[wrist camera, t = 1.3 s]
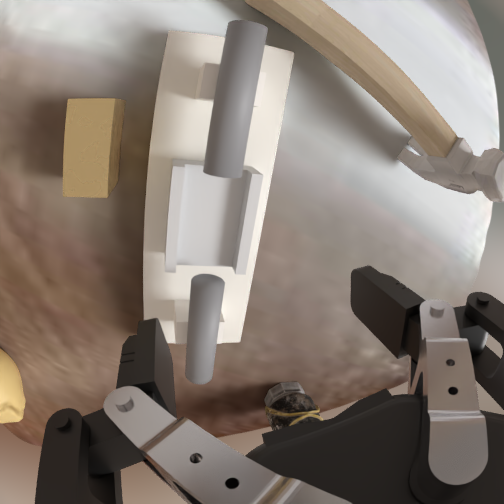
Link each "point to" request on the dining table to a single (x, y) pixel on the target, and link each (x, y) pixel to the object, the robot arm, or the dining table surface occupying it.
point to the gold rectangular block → (92, 146)
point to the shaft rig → (210, 184)
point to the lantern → (289, 406)
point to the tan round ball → (10, 390)
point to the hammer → (392, 98)
